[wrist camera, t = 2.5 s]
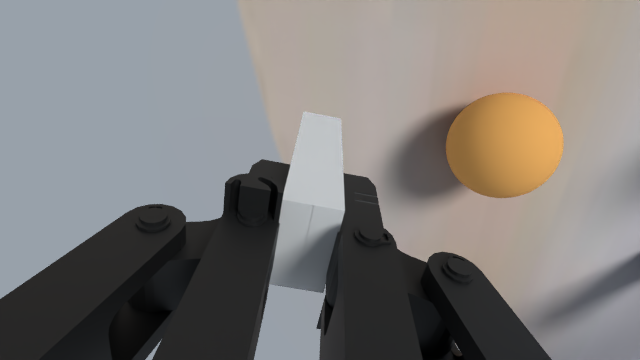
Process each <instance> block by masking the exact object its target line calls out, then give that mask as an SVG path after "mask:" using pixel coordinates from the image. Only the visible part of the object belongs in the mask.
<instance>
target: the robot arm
mask: <svg viewBox="0 0 640 360" xmlns="http://www.w3.org/2000/svg"><path fill="white" fill-rule="evenodd" d="M269 284H272V285H278V286H284V287H291V288H296V289H302V290H308V291H315V292H321V293H323V292H324V288H325V284H326V295H325V299H324V303H323V306H322V310H321V314H320V317H319V321H318V325H317V329H321V337H320V338H321V339H320V360H551V358H550V357H549V356H548V355H547V353H546V352H545V351H544V350H543V348H542V347H541V346H540V345H539V343H538V342H537V341H536V339H535V338H534V337H533V336H532V334H531V333H530V332H529V331H528V329H527V328H526V327H525V326H524V324H523V323H522V322H521V321H520V319H519V318H518V317H517V316H516V314H515V313H514V312H513V310H512V309H511V308H510V307H509V305H508V304H507V303H506V302H505V300H504V299H503V298H502V297H501V295H500V294H499V293H498V292H497V290H496V289H495V288H494V287H493V285H492V284H491V283H490V281H489V280H488V279H487V278H486V276H485V275H484V274H483V273H482V271H481V270H480V269H479V268H477V267H476V266H475V265H474V264H473V263H472V262H470V261H468V260H467V259H465V258H464V257H461V256H458V255H456V254H453V253H447V252H439V253H434V254H433V255H432V256H430V257H429V259H428V262H427V263H426V262H424V261H421V260H419V259H416V258H414V257H411V256H409V255H407V254H405V253H403V252H401V251H400V250H398V249H397V246H396V242H395V240H394V238H393V236H392V235H391V234H390V233H389V232H388V231H387V230H386V229H384V228H383V223H382V218H381V213H380V208H379V205H378V197H377V192H376V187H375V186H374V184H373V183H372V182H371V181H370V180H369V179H368V178H367V177H361V176H356V175H350V174H345V173H343V153H342V129H341V119H340V118H335V117H330V116H325V115H320V114H315V113H309V112H304V113H303V117H302V121H301V125H300V129H299V133H298V137H297V141H296V145H295V149H294V153H293V157H292V161H291V165H290V164H284V163H279V162H273V161H268V160H260V161H259V162H257V163H256V164H254V165H252V168H251V170H250V172H249V173H248V174H240V175H237V176H234V177H231V178H230V179H229V180H228V181H227V182H226V183H225V196H224V211H223V215H222V217H221V218H219V219H215V220H211V221H203V222H186V217H185V215H184V214H183V213H182V211H181V210H179V209H177V208H175V207H173V206H168V205H163V204H152V205H145V206H141V207H137V208H135V209H133V210H131V211H129V212H127V213H125V214H124V215H123V216H121V217H120V218H118V219H117V220H115V221H114V222H112V223H111V224H109V225H108V226H106V227H105V228H104V229H102V230H101V231H99V232H98V233H96V234H95V235H93V236H92V237H90V238H89V239H88V240H86V241H85V242H83V243H82V244H80V245H79V246H77V247H76V248H74V249H73V250H72V251H70V252H69V253H67V254H66V255H64V256H63V257H61V258H60V259H58V260H57V261H56V262H54V263H52V264H51V265H50V266H48V267H47V268H45V269H44V270H42V271H41V272H39V273H38V274H36V275H35V276H33V277H32V278H31V279H29V280H28V281H26V282H25V283H23V284H22V285H20V286H19V287H17V288H16V289H15V290H13V291H12V292H10V293H9V294H7V295H6V296H4V297H3V298H1V299H0V360H145V359H146V358H147V357H148V355H149V354H150V353H151V352H152V350H153V349H154V348H155V347H156V346H157V344H158V343H159V342H160V341H161V343H160V345H159V347H158V349H157V351H156V353H155V355H154V357H153V359H152V360H254V356H255V351H256V346H257V342H258V337H259V332H260V328H261V323H262V318H263V314H264V308H265V304H266V300H267V293H268V287H269ZM161 339H162V340H161ZM455 343H456V345H457V346H458V348H459V350H460V351H459V350H458V348H457V346H456V345H455Z"/></svg>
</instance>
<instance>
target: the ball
mask: <svg viewBox="0 0 640 360" xmlns="http://www.w3.org/2000/svg"><path fill="white" fill-rule="evenodd" d="M562 152H563V133H562V130H561V127H560V124H559V122H558V120H557V118H556V117H555V116H554V114H553V113H552V112H551V111H550V110H549V109H548V108H547V107H546V106H545V105H544V104H542V103H541V102H539V101H538V100H536V99H533V98H531V97H529V96H526V95H522V94H516V93H498V94H492V95H488V96H485V97H483V98H480V99H478V100H476V101H474V102H473V103H471V104H470V105H468V106H467V107H466V108H465V109H463V110H462V111H461V112H460V113H459V115H458V116H457V117H456V118H455V120H454V122H453V123H452V125H451V127H450V129H449V132H448V135H447V140H446V155H447V160H448V163H449V165H450V168H451V170H452V172H453V173H454V175H455V176H456V177H457V179H458V180H459V181H460V182H461V183H462V184H464V185H465V186H466V187H468V188H469V189H471V190H472V191H474V192H476V193H479V194H481V195H485V196H489V197H495V198H509V197H516V196H520V195H523V194H526V193H528V192H531V191H532V190H534V189H536V188H538V187H539V186H541V185H542V184H543V183H544V182H546V181H547V180H548V179H549V178H550V176H551V175H552V174H553V173H554V171H555V170H556V168H557V166H558V164H559V162H560V159H561V156H562Z"/></svg>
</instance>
